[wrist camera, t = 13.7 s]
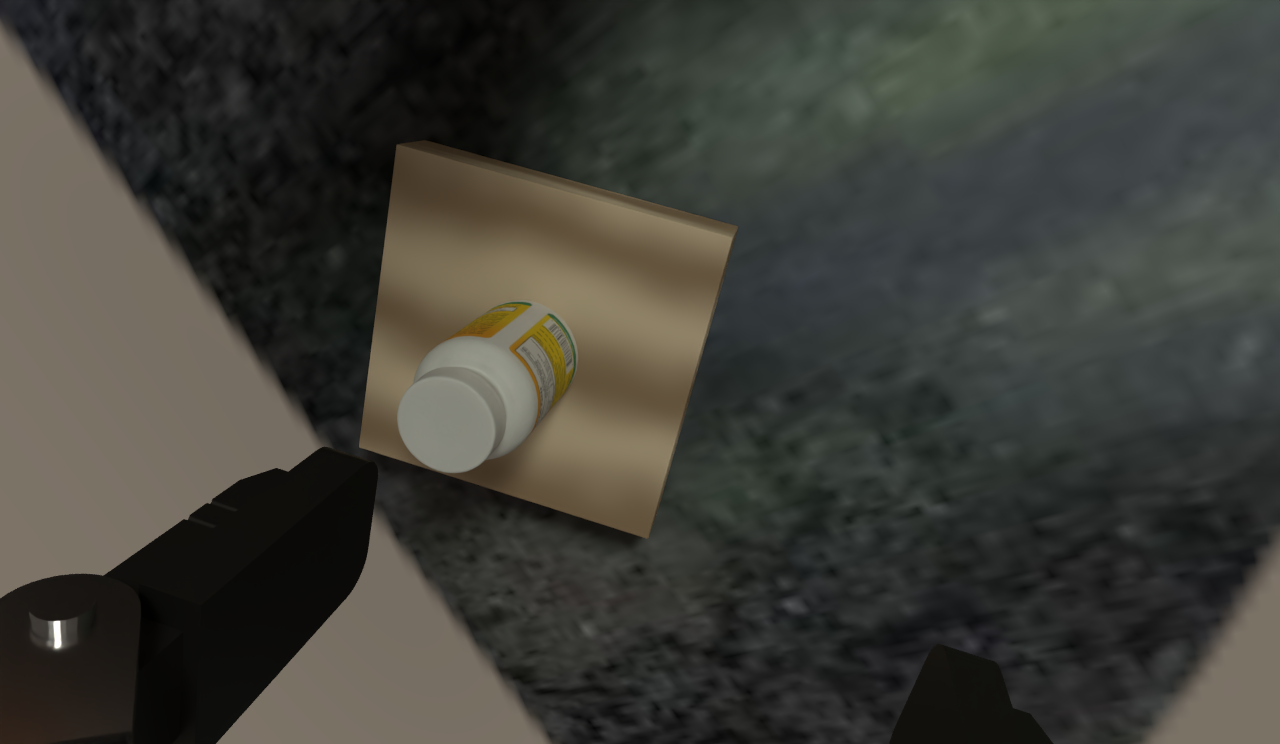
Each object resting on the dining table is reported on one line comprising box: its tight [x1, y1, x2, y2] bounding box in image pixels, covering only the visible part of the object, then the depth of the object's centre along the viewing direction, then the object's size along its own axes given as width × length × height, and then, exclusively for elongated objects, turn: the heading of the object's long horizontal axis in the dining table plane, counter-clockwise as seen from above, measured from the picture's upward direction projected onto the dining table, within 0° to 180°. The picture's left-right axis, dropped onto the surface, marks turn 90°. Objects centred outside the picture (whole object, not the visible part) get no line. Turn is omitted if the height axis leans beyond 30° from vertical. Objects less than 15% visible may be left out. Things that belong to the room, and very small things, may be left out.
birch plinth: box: [359, 140, 738, 539], centre depth 42 cm, size 16×16×3 cm
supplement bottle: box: [397, 300, 578, 473], centre depth 36 cm, size 5×5×10 cm
